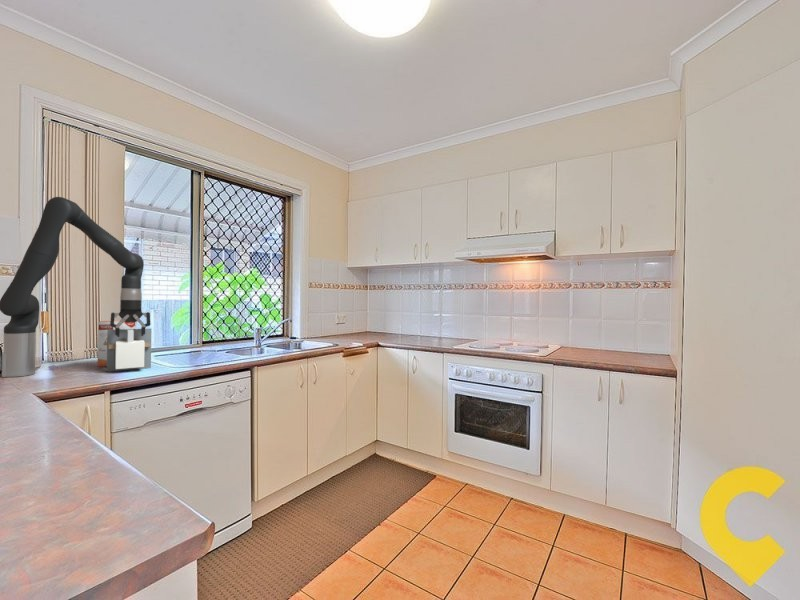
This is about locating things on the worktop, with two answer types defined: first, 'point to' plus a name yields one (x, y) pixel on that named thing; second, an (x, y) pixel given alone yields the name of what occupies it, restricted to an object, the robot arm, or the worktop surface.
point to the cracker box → (103, 338)
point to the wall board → (123, 336)
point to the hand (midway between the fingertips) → (130, 336)
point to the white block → (129, 352)
